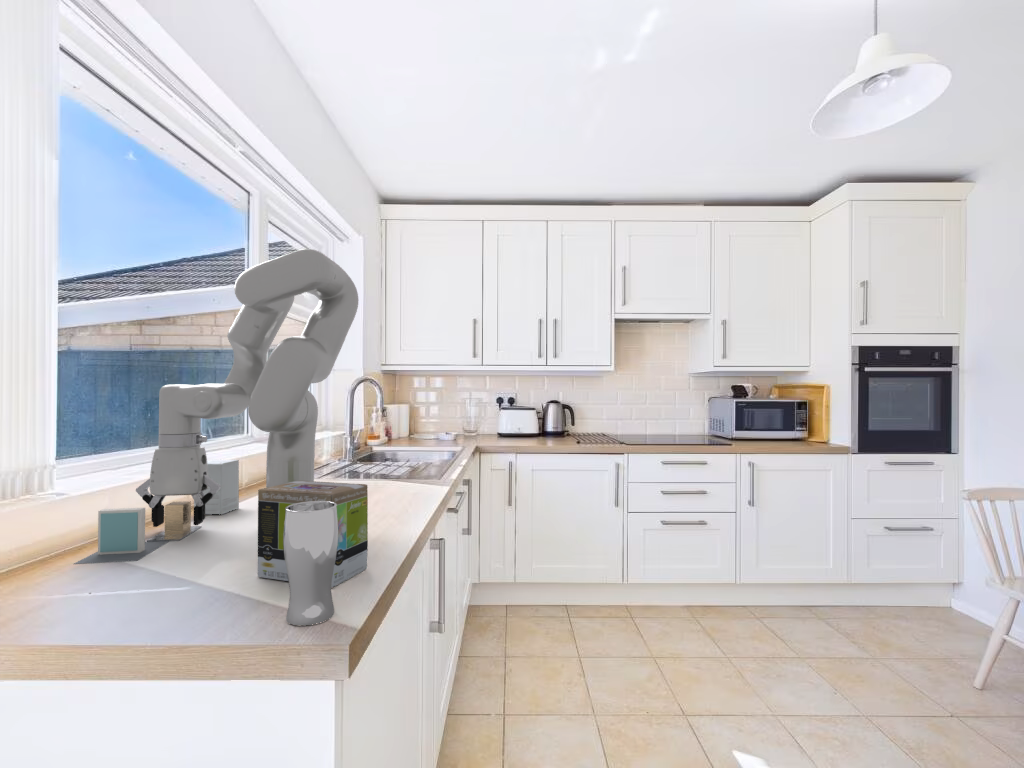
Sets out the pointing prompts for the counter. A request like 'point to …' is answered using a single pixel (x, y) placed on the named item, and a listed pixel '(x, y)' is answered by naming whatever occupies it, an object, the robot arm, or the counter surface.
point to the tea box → (349, 525)
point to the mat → (122, 555)
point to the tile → (121, 530)
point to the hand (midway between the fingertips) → (178, 523)
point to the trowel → (176, 522)
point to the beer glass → (310, 560)
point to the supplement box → (223, 486)
